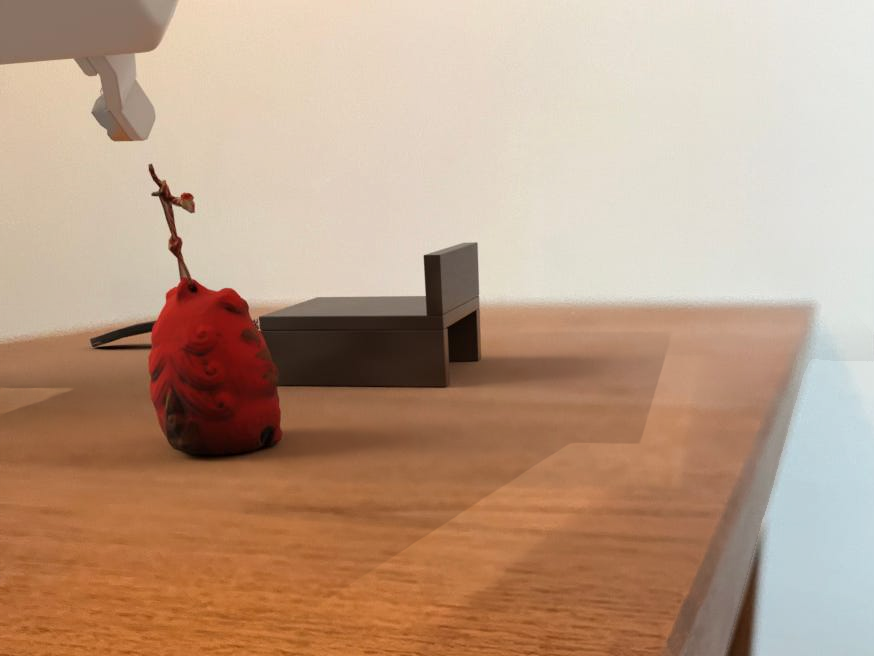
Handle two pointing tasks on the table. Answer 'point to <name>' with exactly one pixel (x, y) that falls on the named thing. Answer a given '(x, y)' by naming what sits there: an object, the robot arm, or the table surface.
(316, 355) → the brown miniature bench
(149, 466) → the table surface
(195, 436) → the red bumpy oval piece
